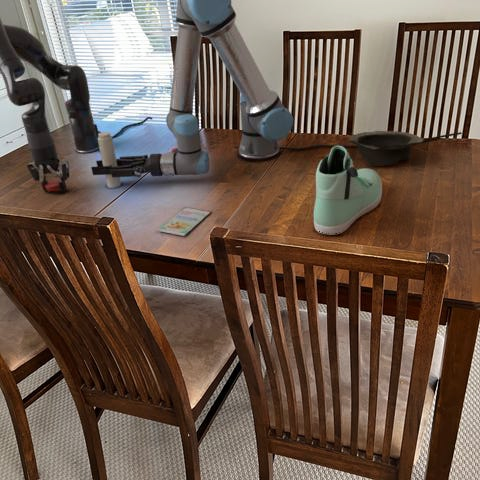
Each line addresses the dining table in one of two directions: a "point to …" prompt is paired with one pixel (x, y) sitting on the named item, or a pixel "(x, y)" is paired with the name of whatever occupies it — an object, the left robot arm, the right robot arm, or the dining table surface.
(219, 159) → the dining table surface
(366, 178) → the sneaker
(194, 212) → the baking ingredient package
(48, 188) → the lid
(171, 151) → the candy cane
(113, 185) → the jar
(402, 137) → the stone bowl
